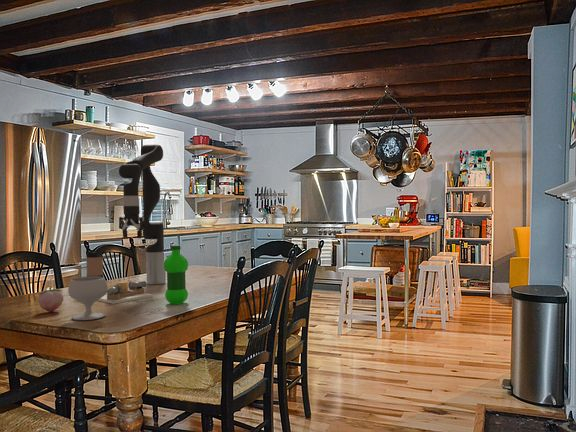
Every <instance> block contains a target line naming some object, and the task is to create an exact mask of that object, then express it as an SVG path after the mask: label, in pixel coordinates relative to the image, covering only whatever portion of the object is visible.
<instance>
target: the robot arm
mask: <svg viewBox="0 0 576 432" xmlns="http://www.w3.org/2000/svg"><path fill="white" fill-rule="evenodd" d="M163 157H164V150H163V147H162V145H160V144H143V145H142V146H141V149H140V155H139V156H136V157H135V158H133V159H132V160H130V161H127V162H124V163H122V164H121V165H120V166H119V168H118V174H119V177H121V178H122V179H131V181H130V182H128V183H124V185H123V187H122V190H123V197H122V198H123V203H122V204H123V206H122V207H123V215H124V216H119V218H118V229H119V230H122V238H123V239H127V238H128V229H129V227H130V226H132V227H134V228H135V229H136V230H137V231H136V236H137V239H142V237H143V239H144V240H156V242H155V243H153V244H151V245H148V246H146V247H145V259H146V260H145V266H146V283H147V285H161V284H167V272H166V271H165V269H164V261H165V258H164V256H165V255H164V254H165V253H164V234H165V233H164V231H165V230H164V223H163V222H160V221H156V222H155V221H154V222H153V221H151V222H150V220H151V219H150V218H151V215H152V213H153V211H154V210H155V208H156V207H157V205H158V204H159V201H160V200H161V186H160V183H159V181H158V179H157V178H156V176H155V175H154V173H153V171H152V170H151V165H153V164H156V163H157V162H160V161H162V160H163ZM141 176H142V178H141ZM141 179H142V206H143V207H142V211H143V212H142V216H140V213H141V211H140V196H139V187H140V186H139V185H140V181H141Z"/></svg>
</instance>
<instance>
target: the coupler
mask: <svg viewBox="0 0 576 432" xmlns="http://www.w3.org/2000/svg"><path fill="white" fill-rule="evenodd" d="M116 285H121V286H122V292H121V294H124V293H128V291H129V287H128V285H129V282H128V281H118V282H116Z"/></svg>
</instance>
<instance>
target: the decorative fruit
mask: <svg viewBox="0 0 576 432" xmlns="http://www.w3.org/2000/svg"><path fill="white" fill-rule="evenodd" d="M63 291H64V290H61V289H59V288H53V289H52V287H49V289H47V290H42V291H40V292H39V293H38V304H39V306H40V308H41V309H42V310H44V311H46V312H49V313H52V312H54V311H56V310H57V309H58V308H59V307H60V306H61V305H62V304H63V301H64V296H63V294H62V293H63ZM61 292H62V293H61Z"/></svg>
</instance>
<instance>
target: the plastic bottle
mask: <svg viewBox="0 0 576 432" xmlns="http://www.w3.org/2000/svg"><path fill="white" fill-rule="evenodd" d="M181 246H182V245H181V244H173V245H172V244H171V245H170V250H171V253H170V255H168V256H167V257H166V258H164V269H165V272H166V285H167V287H166V290H165V294H164V297H165V299H166V301H167V302H168V303H169V304H170V305H176V306H177V305H182V304H184V302H186V300H188V297H189V292H188V290H187V288H186V284H187V283H186V271H187V270H188V268H189V262H188V259H187V258H186V257H184V256H183V255H182V254H181V253H180V251H181Z"/></svg>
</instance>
